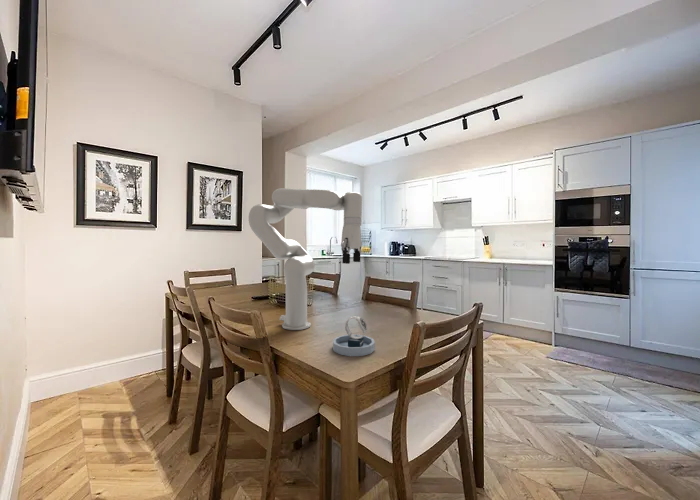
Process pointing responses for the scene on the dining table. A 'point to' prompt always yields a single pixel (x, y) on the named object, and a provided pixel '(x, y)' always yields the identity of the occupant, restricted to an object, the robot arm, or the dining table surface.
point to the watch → (356, 340)
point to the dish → (342, 347)
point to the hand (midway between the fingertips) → (351, 262)
